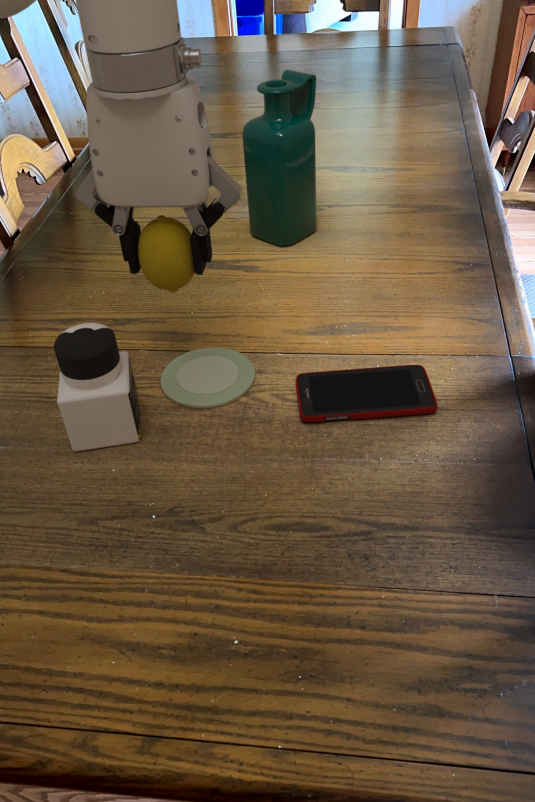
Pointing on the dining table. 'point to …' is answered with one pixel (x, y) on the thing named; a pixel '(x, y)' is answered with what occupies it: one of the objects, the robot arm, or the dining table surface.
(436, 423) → the dining table surface
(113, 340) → the medicine bottle
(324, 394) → the cell phone
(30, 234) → the dining table surface
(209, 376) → the saucer
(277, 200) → the pitcher
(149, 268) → the lemon
